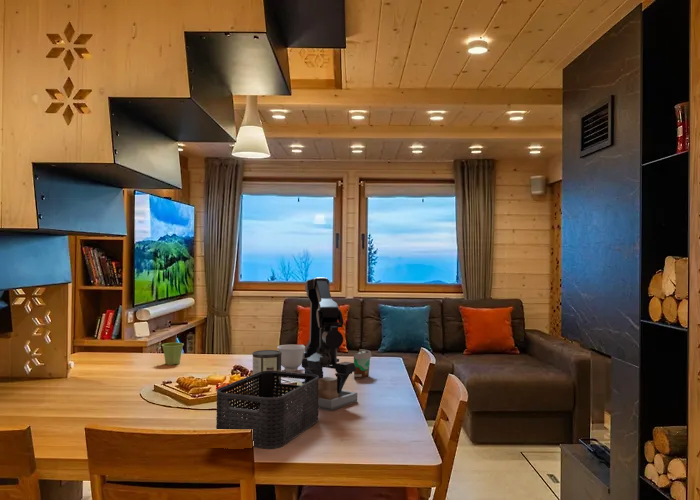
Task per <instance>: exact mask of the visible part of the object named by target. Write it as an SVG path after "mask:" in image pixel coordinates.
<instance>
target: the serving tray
mask: <svg viewBox="0 0 700 500" xmlns="http://www.w3.org/2000/svg"><path fill="white" fill-rule="evenodd" d="M357 402H358V392H355V391H349V390H345V389H342V390H341V392H340V393H339V394H338V398H335V399H332V400H328V399H323V398H319V399H318V404H319V406H318V409H320V410H325V411H328V412H329V411H330V412H332V411H335V410H338V409H341V408H344V407H347V406H349V405H352V404H355V403H357Z"/></svg>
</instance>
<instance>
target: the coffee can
mask: <svg viewBox="0 0 700 500" xmlns="http://www.w3.org/2000/svg"><path fill="white" fill-rule="evenodd" d="M281 354H282V352H281V351H279V350H278V349H277V350H275V349H261V350H255V351H252V375H253V374H256V373H258V372H262V371H282V365H281ZM256 377H257V376H256ZM258 379H259V378H258ZM279 380H280V383H282V377H279ZM275 381H276V380H275ZM275 384H276V383H275ZM253 385H254V384H253ZM258 386H259V385H258ZM275 387H276V386H275ZM253 388H254V387H253ZM278 388H280V387H278ZM258 389H259V388H258ZM278 391H280V390H278ZM278 394H279V393H278Z"/></svg>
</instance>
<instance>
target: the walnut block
mask: <svg viewBox="0 0 700 500" xmlns="http://www.w3.org/2000/svg"><path fill="white" fill-rule="evenodd" d="M318 383H319V386H318V390H319V393H318V397H319V398H323V399H328V400H332V399H335V398H338V393H337V377H330V376H323V378H320V379H318Z"/></svg>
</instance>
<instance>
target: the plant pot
mask: <svg viewBox="0 0 700 500" xmlns="http://www.w3.org/2000/svg"><path fill="white" fill-rule="evenodd" d="M184 345H185V344H184V342H183V343H182V342H166V343H162V344H161V347H162V349H163V355H164V364H165V365H167V366H173V365H179V364H180V363H181V356H182V351H183V346H184Z"/></svg>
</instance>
